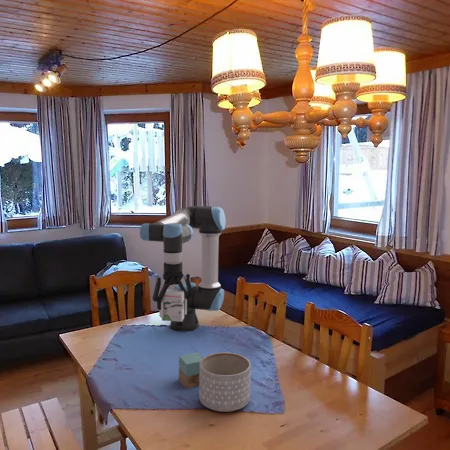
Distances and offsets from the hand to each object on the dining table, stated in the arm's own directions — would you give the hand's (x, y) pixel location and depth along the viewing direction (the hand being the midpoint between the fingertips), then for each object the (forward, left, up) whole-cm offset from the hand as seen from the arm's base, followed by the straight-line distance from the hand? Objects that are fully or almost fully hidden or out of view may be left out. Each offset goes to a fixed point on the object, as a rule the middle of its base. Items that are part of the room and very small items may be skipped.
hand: (173, 315), depth 173 cm
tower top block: (-4, +11, -19) cm, 23 cm away
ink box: (0, 0, -2) cm, 2 cm away
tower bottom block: (-4, +12, -24) cm, 27 cm away
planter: (-10, +29, -24) cm, 39 cm away
